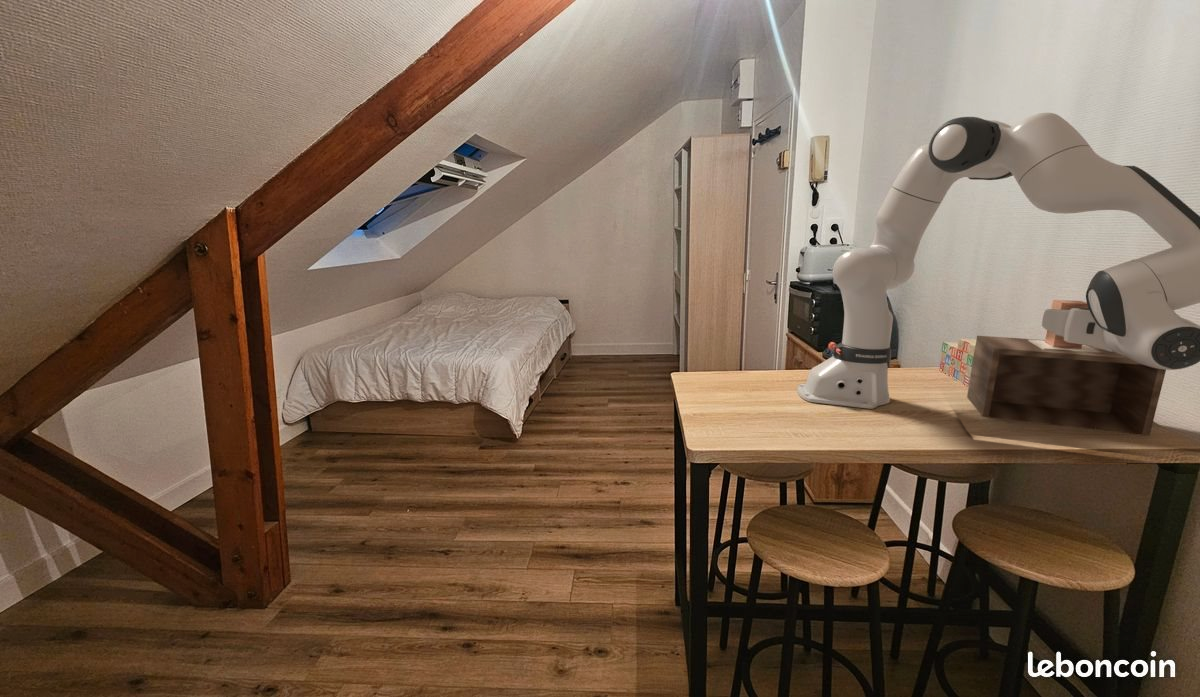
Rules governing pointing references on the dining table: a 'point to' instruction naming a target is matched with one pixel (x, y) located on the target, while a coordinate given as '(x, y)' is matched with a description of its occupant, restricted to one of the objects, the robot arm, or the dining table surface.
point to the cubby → (1063, 385)
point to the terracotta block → (1059, 340)
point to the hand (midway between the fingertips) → (1094, 317)
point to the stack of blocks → (958, 359)
